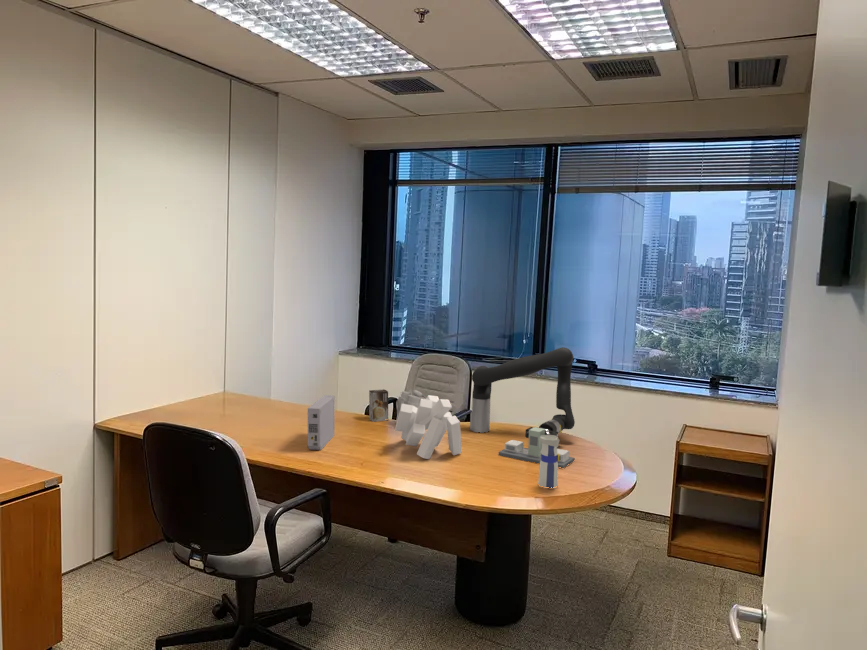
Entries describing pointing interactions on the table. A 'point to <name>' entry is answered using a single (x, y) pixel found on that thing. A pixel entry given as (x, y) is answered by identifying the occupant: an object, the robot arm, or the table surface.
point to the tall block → (535, 441)
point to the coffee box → (378, 405)
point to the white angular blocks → (429, 425)
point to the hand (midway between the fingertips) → (534, 437)
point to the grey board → (531, 458)
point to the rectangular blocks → (518, 445)
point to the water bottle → (549, 461)
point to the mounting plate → (525, 451)
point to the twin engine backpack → (409, 399)
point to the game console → (321, 422)
